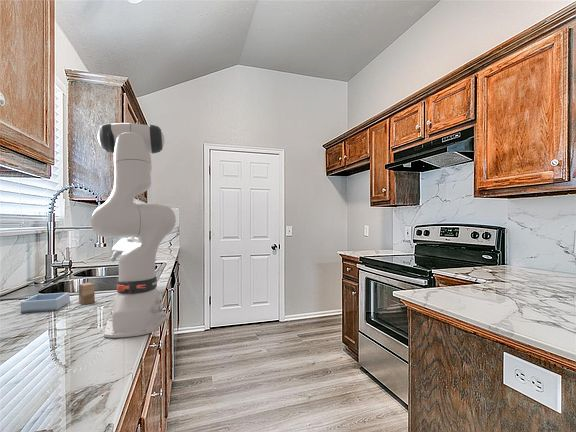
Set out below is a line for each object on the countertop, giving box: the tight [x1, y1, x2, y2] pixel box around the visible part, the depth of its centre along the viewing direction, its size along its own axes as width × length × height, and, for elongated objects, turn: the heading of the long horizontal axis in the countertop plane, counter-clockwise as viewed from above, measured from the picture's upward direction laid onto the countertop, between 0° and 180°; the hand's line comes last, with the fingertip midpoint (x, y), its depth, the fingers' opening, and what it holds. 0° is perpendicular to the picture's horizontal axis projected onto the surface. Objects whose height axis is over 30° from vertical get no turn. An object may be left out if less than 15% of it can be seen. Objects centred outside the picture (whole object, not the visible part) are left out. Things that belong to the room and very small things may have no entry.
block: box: [78, 282, 96, 305], centre depth 133 cm, size 4×4×8 cm
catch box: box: [20, 292, 71, 314], centre depth 127 cm, size 12×12×4 cm
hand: (116, 261), depth 143 cm, fingers open, 8 cm apart
